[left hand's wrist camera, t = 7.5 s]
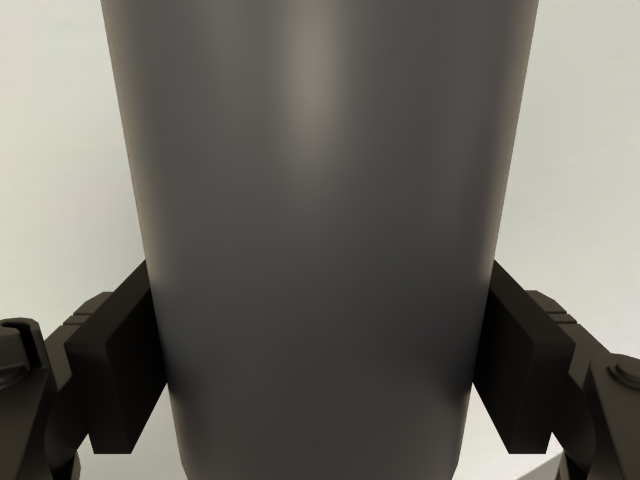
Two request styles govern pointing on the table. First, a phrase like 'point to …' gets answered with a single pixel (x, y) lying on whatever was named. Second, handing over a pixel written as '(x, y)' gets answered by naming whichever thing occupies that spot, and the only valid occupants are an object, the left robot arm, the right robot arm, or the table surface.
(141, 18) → the rod
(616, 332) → the table surface
